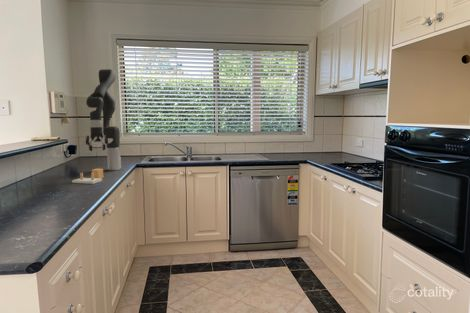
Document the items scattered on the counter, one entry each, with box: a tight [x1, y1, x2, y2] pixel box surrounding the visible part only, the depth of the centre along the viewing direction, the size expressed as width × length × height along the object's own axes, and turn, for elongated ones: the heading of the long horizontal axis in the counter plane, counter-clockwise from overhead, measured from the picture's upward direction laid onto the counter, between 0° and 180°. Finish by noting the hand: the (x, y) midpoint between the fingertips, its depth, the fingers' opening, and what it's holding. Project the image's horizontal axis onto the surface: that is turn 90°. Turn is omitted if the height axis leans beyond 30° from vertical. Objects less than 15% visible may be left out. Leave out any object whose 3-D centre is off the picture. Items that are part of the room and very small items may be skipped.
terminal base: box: [71, 172, 103, 185], centre depth 203 cm, size 9×15×6 cm, turn 76°
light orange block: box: [91, 168, 105, 179], centre depth 214 cm, size 5×5×6 cm
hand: (97, 150), depth 219 cm, fingers open, 8 cm apart
